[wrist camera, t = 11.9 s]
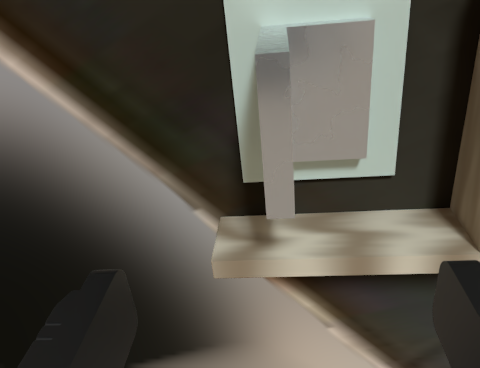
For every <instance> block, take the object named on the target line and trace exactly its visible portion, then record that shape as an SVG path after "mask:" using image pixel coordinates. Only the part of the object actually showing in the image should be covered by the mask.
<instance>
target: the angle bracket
mask: <svg viewBox="0 0 480 368" xmlns="http://www.w3.org/2000/svg"><path fill="white" fill-rule="evenodd" d="M374 31H375V19H373V18H372V17H362V18H350V19H339V20H327V21H315V22H304V23H292V24H281V25H269V26H261V28H260V33H259V37H258V42H257V46H256V50H255V67H256V80H257V94H258V108H259V121H260V135H261V149H262V162H263V176H264V190H265V204H266V217H267V219H287V218H295V203H294V172H293V162H302V161H323V160H344V159H365V158H367V143H368V127H369V111H370V95H371V79H372V63H373V47H374Z"/></svg>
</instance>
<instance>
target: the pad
mask: <svg viewBox="0 0 480 368" xmlns="http://www.w3.org/2000/svg"><path fill="white" fill-rule="evenodd" d="M223 1H224V10H225V19H226V28H227V37H228V47H229V56H230V65H231V74H232V83H233V92H234V101H235V111H236V120H237V129H238V138H239V147H240V156H241V166H242V175H243V183H246V182H264V176H263V162H262V149H261V135H260V121H259V108H258V94H257V80H256V67H255V50H256V46H257V42H258V37H259V33H260V28H261V26H269V25H281V24H292V23H304V22H315V21H327V20H339V19H350V18H362V17H372V18H373V19H375V31H374V47H373V63H372V79H371V95H370V111H369V127H368V143H367V158H365V159H344V160H323V161H302V162H293V172H294V180H307V179H327V178H347V177H368V176H388V175H395V165H396V155H397V144H398V133H399V122H400V111H401V100H402V90H403V79H404V68H405V57H406V46H407V35H408V25H409V14H410V3H411V0H223Z"/></svg>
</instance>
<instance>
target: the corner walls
mask: <svg viewBox="0 0 480 368" xmlns="http://www.w3.org/2000/svg"><path fill="white" fill-rule="evenodd" d="M461 260H477V261H479V262H480V36H479V42H478V48H477V53H476V59H475V65H474V71H473V76H472V82H471V88H470V94H469V100H468V105H467V111H466V117H465V123H464V128H463V134H462V140H461V146H460V152H459V157H458V163H457V169H456V175H455V181H454V186H453V192H452V198H451V204H450V208H435V209H409V210H384V211H359V212H334V213H309V214H295V218H287V219H267V217H266V215H259V216H234V217H221V218H220V222H219V227H218V232H217V236H216V241H215V246H214V250H213V255H212V259H211V264H212V270H213V276H214V278H250V277H298V276H343V275H388V274H433V273H439V268H440V265H441V263H442V262H443V261H461Z"/></svg>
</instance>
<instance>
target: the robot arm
mask: <svg viewBox="0 0 480 368" xmlns="http://www.w3.org/2000/svg"><path fill="white" fill-rule="evenodd" d="M432 314H433V322H434V327H435V330H436V333H437V335H438V338H439V340H440V342H441V345H442V347H443V349H444V351H445V354H446V356H447V358H448V361H449V363H450V365H451V368H480V262H479V261H477V260H461V261H443V262H442V263H441V265H440V268H439V273H438V279H437V285H436V290H435V296H434V301H433V308H432ZM136 328H137V311H136V308H135V304H134V301H133V298H132V294H131V291H130V288H129V285H128V281H127V278H126V275H125V273H124V271H123V270H121V269H118V270H93V271H92V272H91V273H90V274H89V276H88V277H87V279H86V281H85V283H84V284H83V286H82V288H81V290H79V291H72V292H70V293H69V294H68V295H67V296H66V297H65V298H64V299H63V300H62V301H60V302H59V303H58V304H57V305H56V306H55V308H54V309H53V311H52V313H51V314H50V316H49V317H48V319H47V321H46V322H45V326H43V327H42V329H41V330H40V332H39V334H38V335H37V337H36V338H37V339H36V341H34V342H33V343H32V345H31V347H30V348H29V350H28V351H27V353H26V355H25V356H24V358H23V360H22V361H21V363H20V364H19V366H18V368H124V365H125V362H126V359H127V356H128V354H129V351H130V348H131V345H132V343H133V340H134V337H135V334H136Z"/></svg>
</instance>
